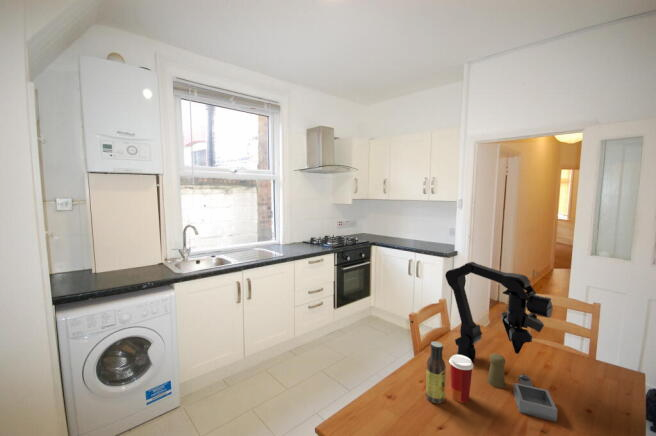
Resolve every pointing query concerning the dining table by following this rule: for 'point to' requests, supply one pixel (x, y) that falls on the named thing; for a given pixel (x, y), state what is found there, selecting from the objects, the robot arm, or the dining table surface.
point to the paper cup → (460, 377)
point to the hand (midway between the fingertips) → (513, 346)
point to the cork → (496, 371)
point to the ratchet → (534, 400)
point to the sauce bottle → (435, 374)
